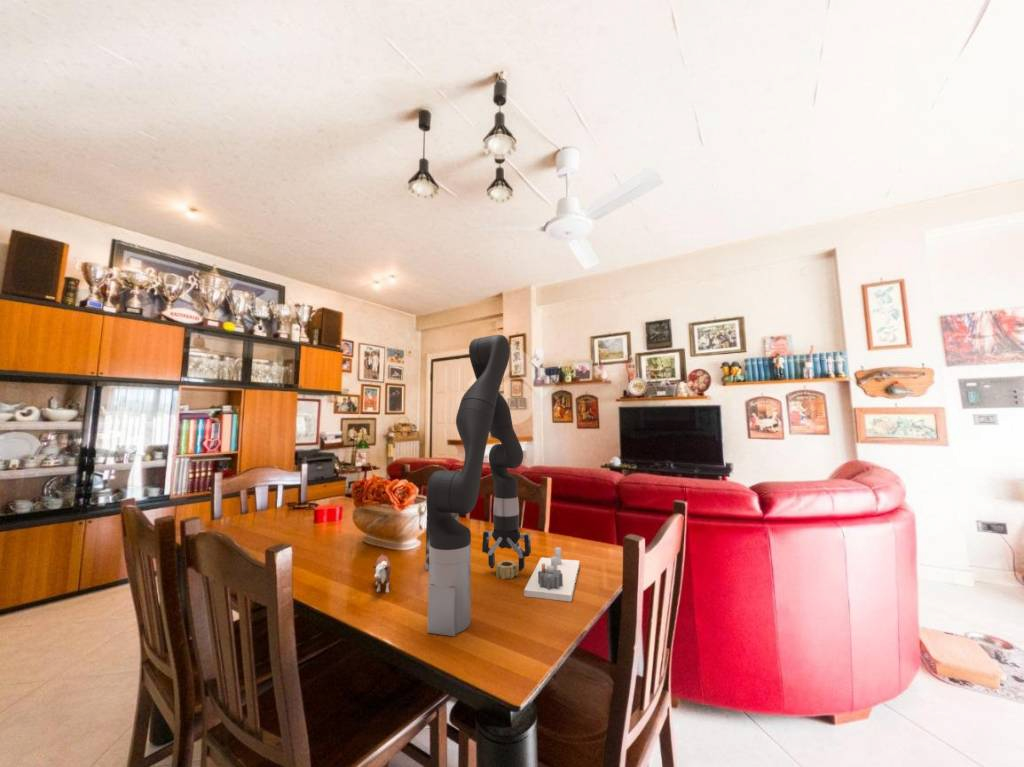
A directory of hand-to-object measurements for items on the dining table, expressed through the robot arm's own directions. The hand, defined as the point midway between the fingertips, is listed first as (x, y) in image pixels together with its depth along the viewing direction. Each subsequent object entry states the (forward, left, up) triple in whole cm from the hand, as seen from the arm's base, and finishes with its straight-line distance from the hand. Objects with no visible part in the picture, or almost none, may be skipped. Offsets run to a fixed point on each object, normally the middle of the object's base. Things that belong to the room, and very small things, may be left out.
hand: (506, 568), depth 111 cm
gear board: (0, -14, -2) cm, 14 cm away
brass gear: (0, 0, -2) cm, 2 cm away
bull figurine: (-17, +30, -2) cm, 35 cm away
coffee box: (+1, +21, -2) cm, 21 cm away
